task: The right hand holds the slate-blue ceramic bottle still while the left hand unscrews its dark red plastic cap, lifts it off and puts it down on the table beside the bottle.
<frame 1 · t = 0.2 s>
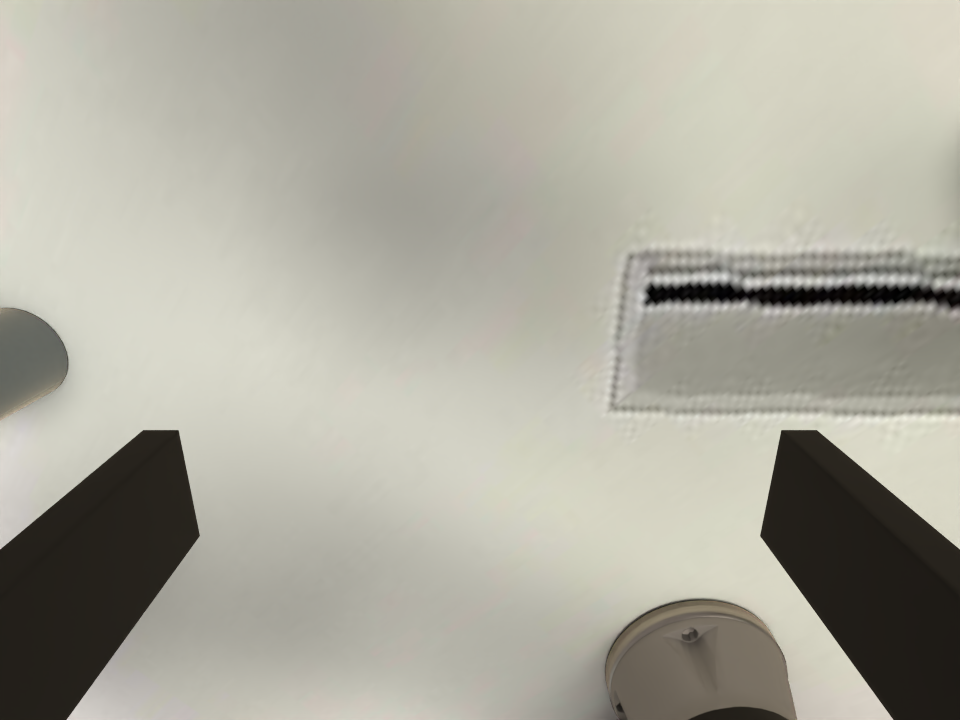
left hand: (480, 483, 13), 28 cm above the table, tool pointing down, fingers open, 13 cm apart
bottle: (20, 353, 41), on the table
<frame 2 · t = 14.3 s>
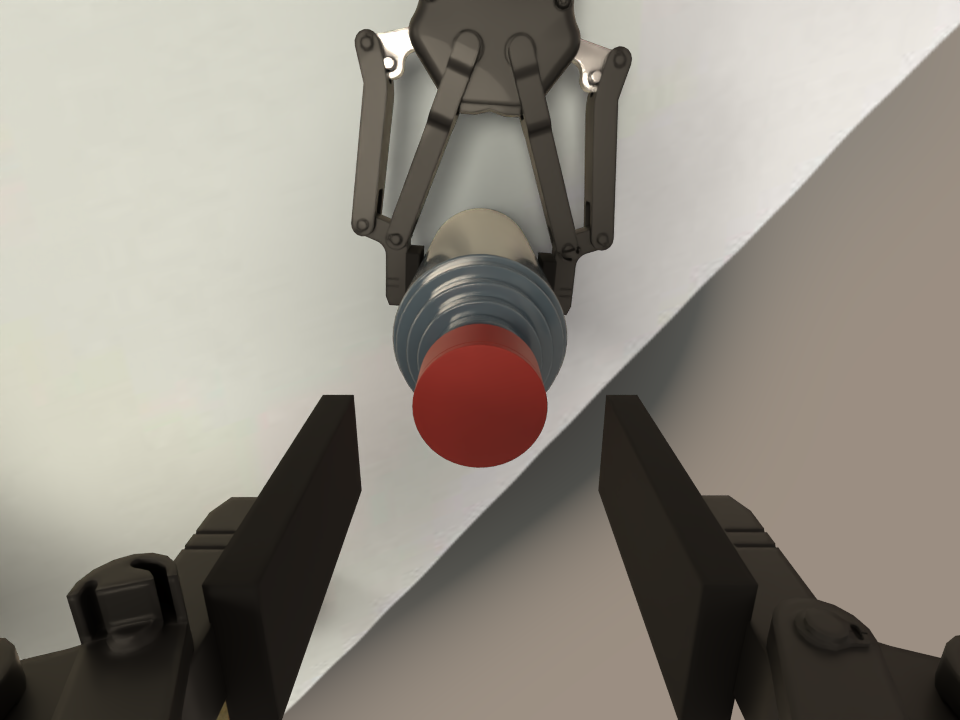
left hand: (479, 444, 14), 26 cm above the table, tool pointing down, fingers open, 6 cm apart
right hand: (475, 360, 35), fingers closed on bottle, 7 cm apart
bottle: (479, 259, 39), on the table, touching right hand
cap: (479, 404, 17), point 23 cm above the table, screwed on, not yet turned
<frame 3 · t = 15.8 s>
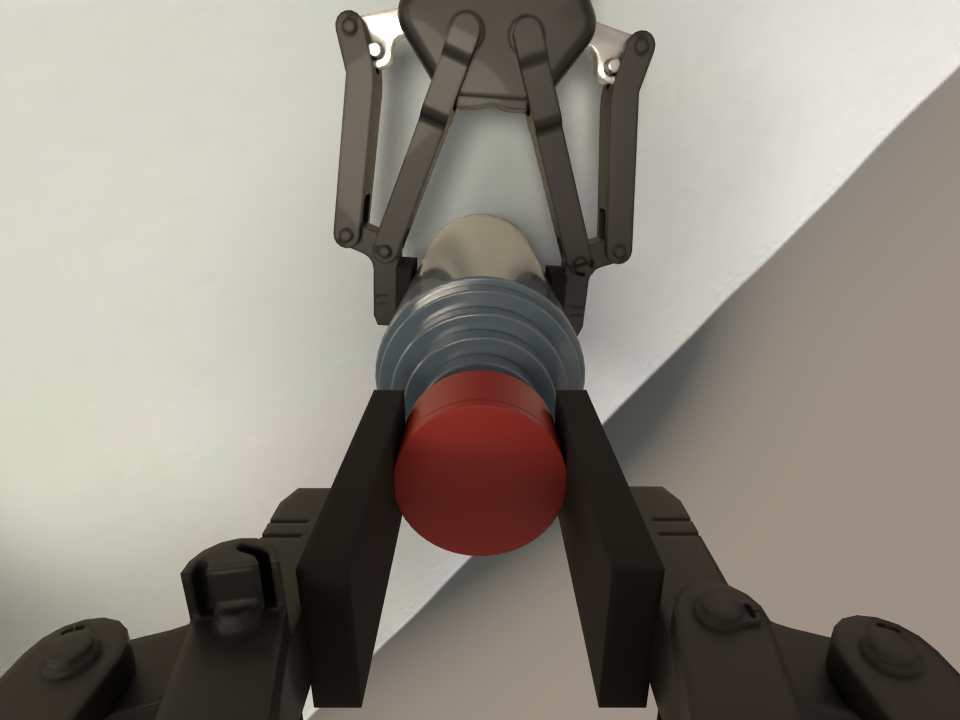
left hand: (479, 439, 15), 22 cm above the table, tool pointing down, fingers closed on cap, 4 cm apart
right hand: (474, 385, 31), fingers closed on bottle, 7 cm apart
bottle: (480, 271, 35), on the table, touching right hand
cap: (480, 477, 13), point 23 cm above the table, screwed on, not yet turned, touching left hand
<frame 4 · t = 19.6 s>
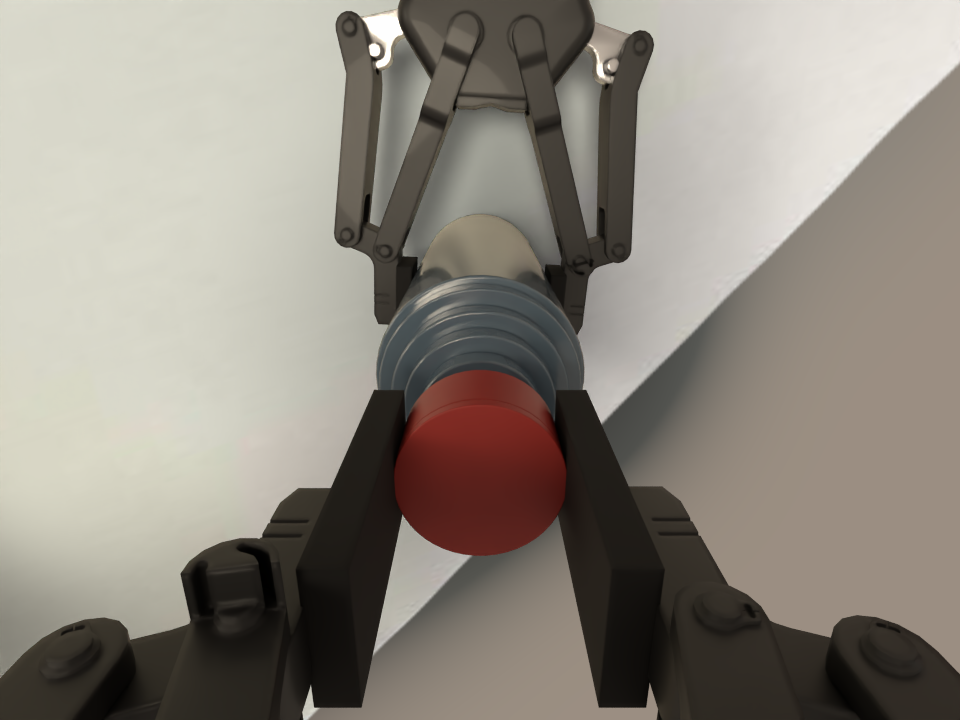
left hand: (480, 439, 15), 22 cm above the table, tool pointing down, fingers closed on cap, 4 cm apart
right hand: (474, 384, 31), fingers closed on bottle, 7 cm apart
bottle: (480, 270, 35), on the table, touching right hand
cap: (480, 477, 13), point 24 cm above the table, turned 133° so far, risen 0.1 cm, still on its thread, touching left hand
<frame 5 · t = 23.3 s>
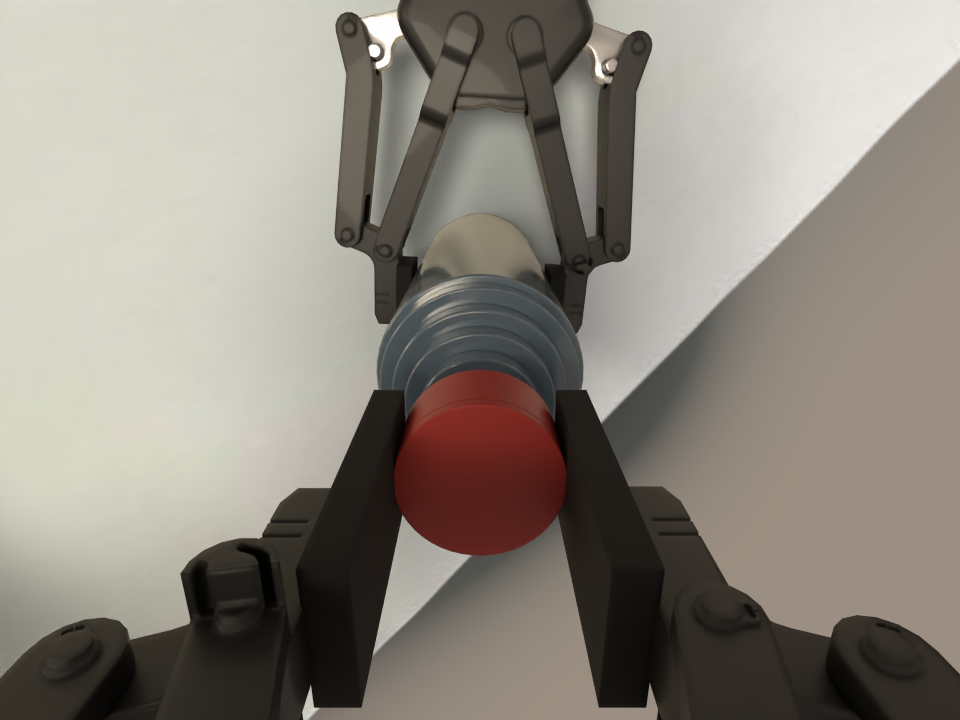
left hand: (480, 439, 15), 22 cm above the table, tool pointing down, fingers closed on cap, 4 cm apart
right hand: (475, 383, 31), fingers closed on bottle, 7 cm apart
bottle: (479, 270, 35), on the table, touching right hand
cap: (480, 477, 13), point 24 cm above the table, turned 266° so far, risen 0.3 cm, still on its thread, touching left hand
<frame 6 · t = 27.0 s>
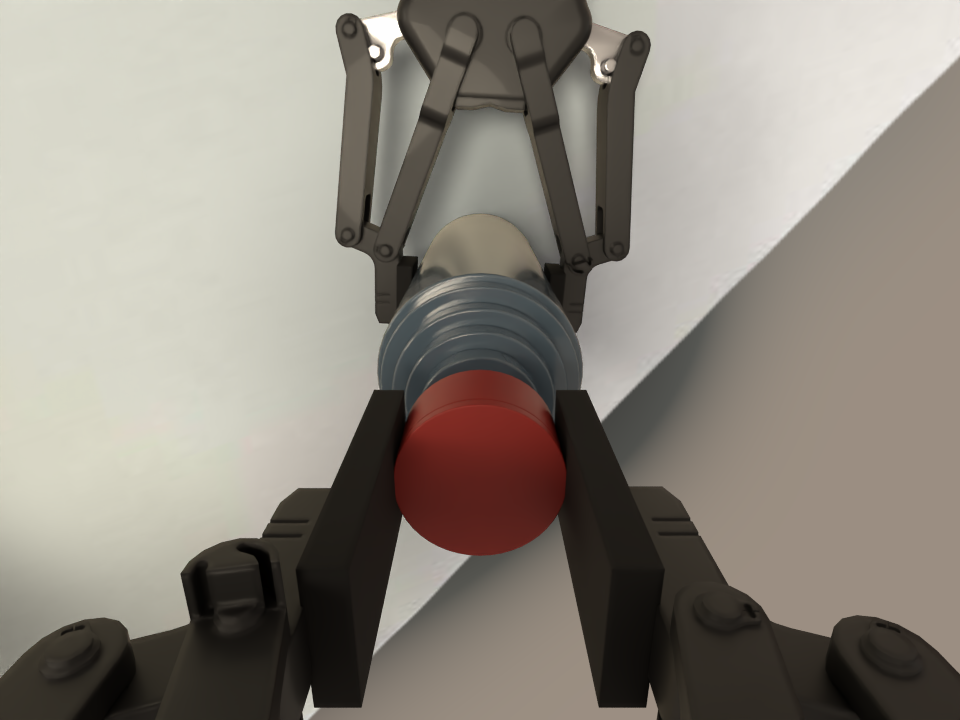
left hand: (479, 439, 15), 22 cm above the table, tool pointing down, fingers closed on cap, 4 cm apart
right hand: (475, 382, 31), fingers closed on bottle, 7 cm apart
bottle: (479, 269, 35), on the table, touching right hand
cap: (480, 477, 13), point 24 cm above the table, turned 399° so far, risen 0.4 cm, still on its thread, touching left hand
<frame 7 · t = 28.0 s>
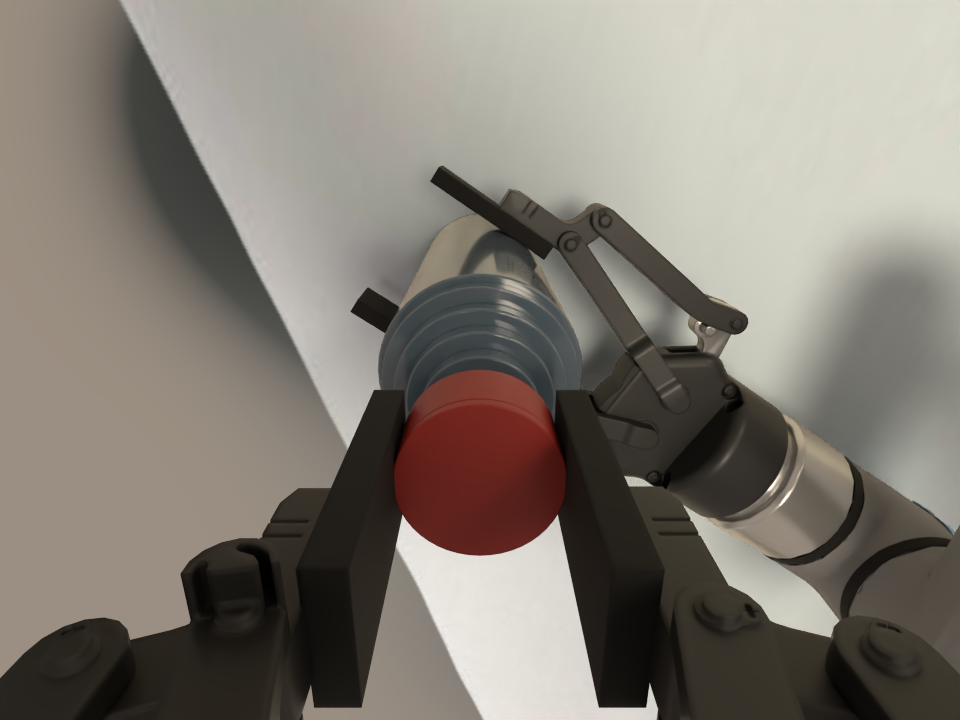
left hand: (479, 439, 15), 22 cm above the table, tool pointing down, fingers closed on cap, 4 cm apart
right hand: (397, 238, 29), fingers closed on bottle, 7 cm apart
bottle: (480, 270, 35), on the table, touching right hand
cap: (480, 477, 13), point 24 cm above the table, off its thread, touching left hand
when the left hand's fingers open (2 cm above the table, at t = 34.4 s): cap drops 2 cm, point 2 cm above the table.
when the right hand's fingers open (6 cm above the table, at t = 35.6 s): bottle stays where it is, on the table.
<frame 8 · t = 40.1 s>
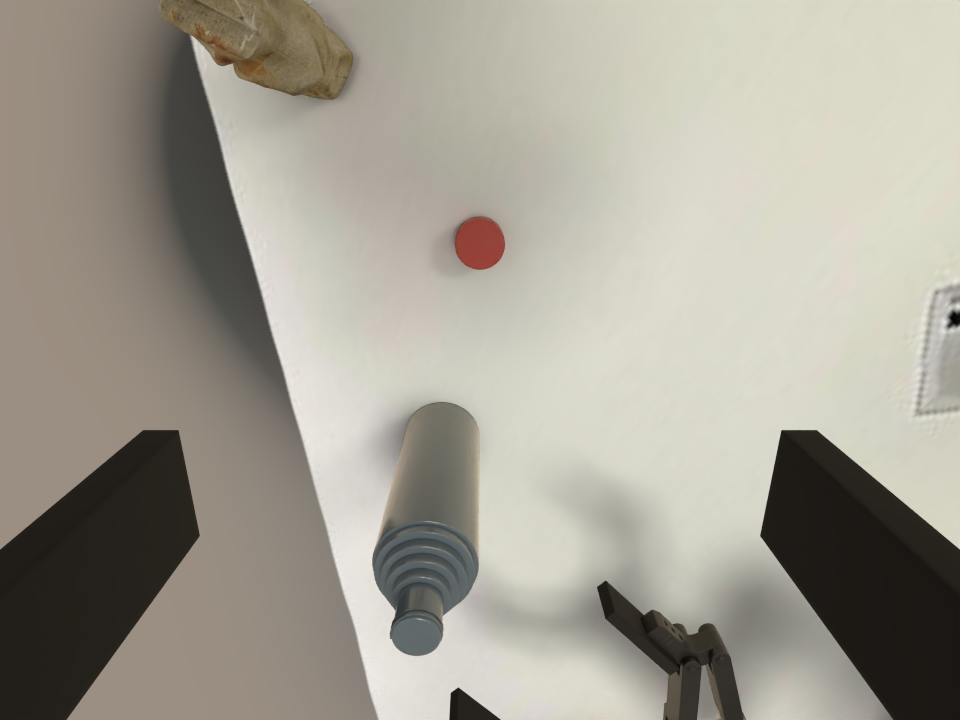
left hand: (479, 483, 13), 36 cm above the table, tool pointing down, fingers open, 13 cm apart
bottle: (442, 435, 53), on the table
sculpture: (310, 58, 42), on the table
cap: (479, 244, 45), point 2 cm above the table, off its thread
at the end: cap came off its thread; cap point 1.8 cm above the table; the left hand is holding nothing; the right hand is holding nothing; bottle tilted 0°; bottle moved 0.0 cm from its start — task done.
